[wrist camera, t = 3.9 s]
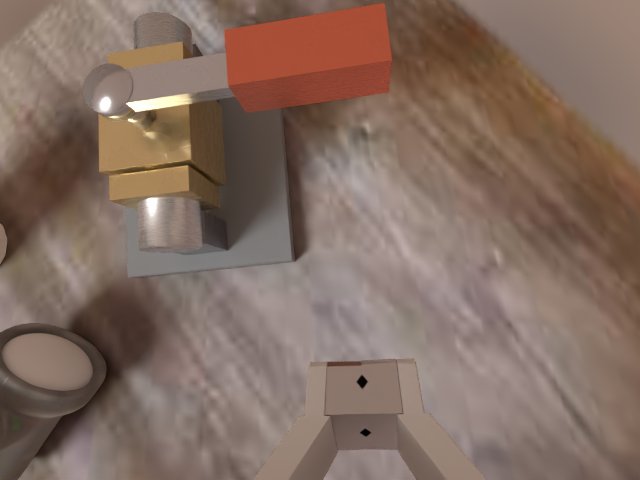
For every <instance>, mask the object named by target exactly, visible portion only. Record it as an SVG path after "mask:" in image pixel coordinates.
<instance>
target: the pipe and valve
mask: <svg viewBox="0 0 640 480" xmlns="http://www.w3.org/2000/svg"><path fill="white" fill-rule="evenodd" d="M133 40H134V50H128V51H123V52H117V53H111V54H108V64H109V63H110V64H117V65H120V66H122V67H123V68H124V69H127V68H133V67H139V66H145V65H151V64H157V63H163V62H169V61H176V60H182V59H188V58H194V57H200V56H203V55H202V53H201V52H200V50H199V49H198V47H197V46H196V44H193V42H192V32H191V30H190V28H189V27H188V25H187V24H186V23H185V22H183V21H182V20H180V19H179V18H177V17H175V16H172V15H169V14H165V13H157V12H155V13H146V14H143V15H141V16H139V17H138V18H137V19H136V20H135V21H134V24H133ZM99 172H101V173H103V174H105V175H107V176H109V188H110V201H112V202H115V203H118V204H121V205H123V206H126V207H129V208H132V209H134V210H137V211H138V246H139V250H140V251H143V252H152V253H177V254H182V255H195V254H204V253H213V252H222V251H228V240H227V223H226V222H225V221H223V220H221V219H219V218H217V217H215V216H213V215H211V214H209V213H208V212H206V210H214V209H220V192H219V187H223V186H226V174H225V158H224V141H223V124H222V107H221V106H220V104H219V99H218V100H211V101H205V102H198V103H192V104H185V105H178V106H172V107H165V108H158V109H152V110H145V111H138V112H137V113H136V114H135V115H134V116H133V117H132V118H130V119H128V120H126V121H122V122H113V121H110V120H108V119H106V118H104V117H103V116H101V115H100V114H99Z"/></svg>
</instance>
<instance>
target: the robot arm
mask: <svg viewBox="0 0 640 480" xmlns="http://www.w3.org/2000/svg"><path fill="white" fill-rule="evenodd" d="M367 448H368V449H379V450H398V452H399V453H400V455H401V456H402V458H403V460H404V461H405V463H406V464H407V466H408V467H409V469H410V470H411V472H412V473H413V475H414V476H415V478H416V480H486V478H485V477H484V476H483V475H482V474H481V473H480V471H479V470H478V469H477V468H476V467H475V466H474V464H473V463H472V462H471V461H470V460H469V459H468V457H467V456H466V455H465V454H464V453H463V452H462V450H461V449H460V448H459V447H458V446H457V445H456V443H455V442H454V441H453V440H452V439H451V438H450V436H449V435H448V434H447V433H446V432H445V430H444V429H443V428H442V427H441V426H440V425H439V423H438V422H437V421H436V420H435V419H434V418H433V416H432V415H431V414H425V413H424V407H423V401H422V395H421V390H420V384H419V378H418V372H417V367H416V362H415V360H414V358H412V359H382V360H363V361H344V362H310V365H309V370H308V382H307V393H306V405H305V416H299V418H298V419H297V420H296V422H295V423H294V425H293V426H292V427H291V429H290V430H289V431H288V433H287V434H286V436H285V437H284V438H283V440H282V441H281V442H280V444H279V445H278V446H277V448H276V449H275V451H274V452H273V453H272V455H271V456H270V457H269V459H268V460H267V462H266V463H265V464H264V466H263V467H262V468H261V470H260V471H259V472H258V474H257V475H256V477H255V478H254V479H253V480H323V479H324V477H325V475H326V473H327V472H328V470H329V468H330V466H331V464H332V462H333V460H334V459H335V457H336V455H337V453H338V451H337V450H362V449H367Z"/></svg>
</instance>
